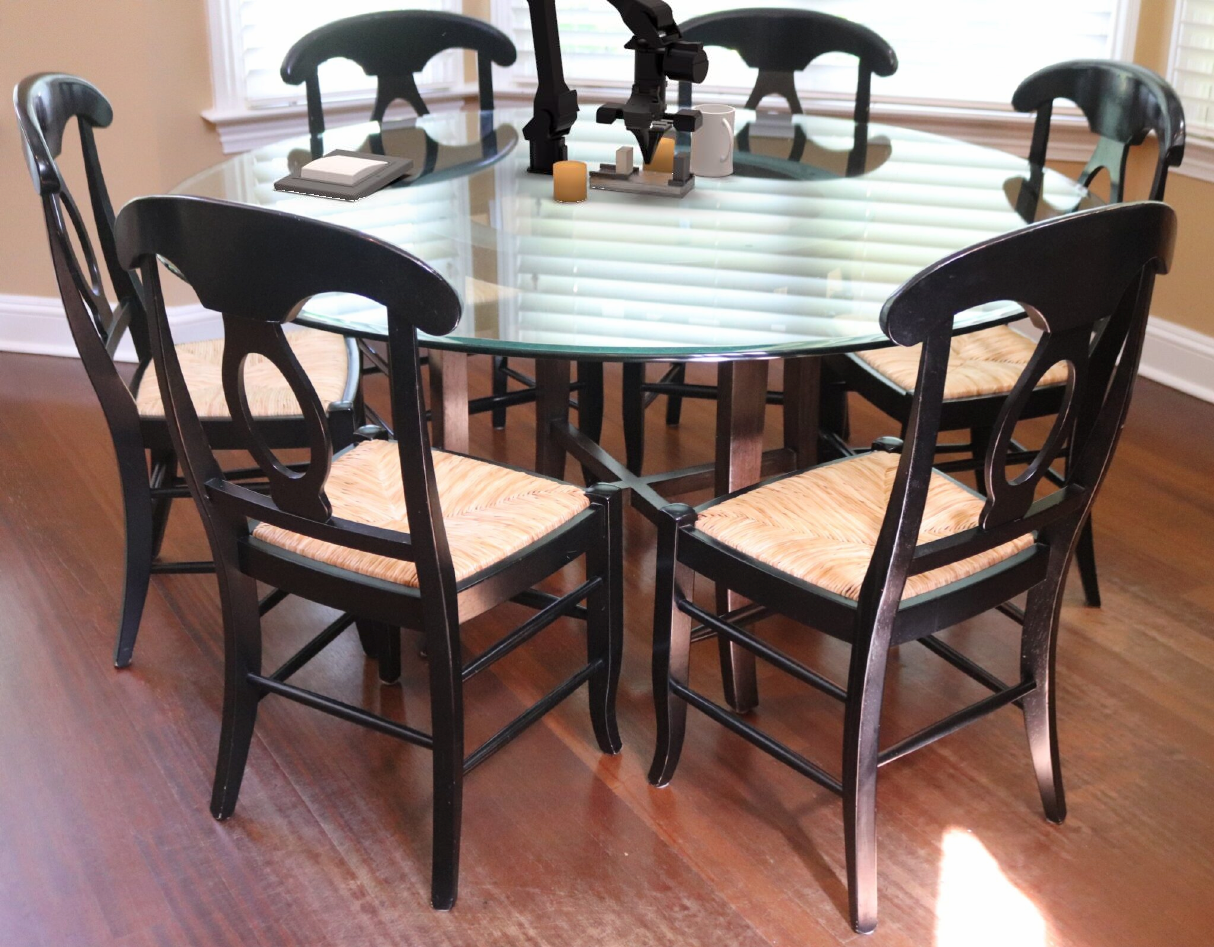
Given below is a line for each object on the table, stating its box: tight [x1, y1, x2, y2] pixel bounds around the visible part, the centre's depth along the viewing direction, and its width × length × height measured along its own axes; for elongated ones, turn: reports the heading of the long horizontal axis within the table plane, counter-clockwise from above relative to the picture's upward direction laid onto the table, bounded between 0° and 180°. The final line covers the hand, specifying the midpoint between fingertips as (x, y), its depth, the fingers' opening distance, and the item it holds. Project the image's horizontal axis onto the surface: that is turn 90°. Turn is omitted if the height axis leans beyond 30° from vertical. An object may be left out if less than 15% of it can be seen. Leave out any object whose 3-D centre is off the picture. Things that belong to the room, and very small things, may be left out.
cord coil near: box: [552, 160, 588, 203], centre depth 224 cm, size 6×6×6 cm
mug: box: [690, 103, 736, 178], centre depth 237 cm, size 12×8×12 cm
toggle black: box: [673, 151, 691, 180], centre depth 227 cm, size 2×4×4 cm, turn 160°
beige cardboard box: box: [615, 145, 634, 175], centre depth 230 cm, size 2×4×4 cm, turn 160°
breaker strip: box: [588, 162, 696, 199], centre depth 231 cm, size 18×8×3 cm, turn 70°
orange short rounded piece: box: [642, 137, 676, 173], centre depth 239 cm, size 6×6×6 cm
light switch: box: [273, 148, 414, 201], centre depth 232 cm, size 18×5×20 cm
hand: (648, 164), depth 229 cm, fingers closed
